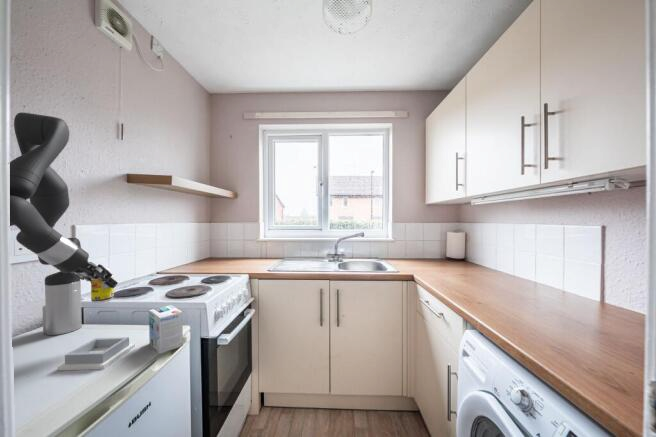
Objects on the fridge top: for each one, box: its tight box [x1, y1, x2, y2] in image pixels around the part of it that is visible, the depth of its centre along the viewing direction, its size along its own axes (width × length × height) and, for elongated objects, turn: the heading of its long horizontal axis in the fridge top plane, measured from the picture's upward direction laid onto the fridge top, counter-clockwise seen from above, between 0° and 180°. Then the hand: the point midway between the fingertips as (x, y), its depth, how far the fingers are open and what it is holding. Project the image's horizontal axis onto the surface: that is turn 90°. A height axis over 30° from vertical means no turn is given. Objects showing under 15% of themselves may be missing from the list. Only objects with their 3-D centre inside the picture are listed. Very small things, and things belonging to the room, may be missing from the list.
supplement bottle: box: [90, 267, 115, 304], centre depth 88 cm, size 6×6×10 cm
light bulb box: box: [148, 304, 184, 354], centre depth 85 cm, size 11×7×11 cm, turn 48°
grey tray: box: [57, 336, 136, 371], centre depth 78 cm, size 12×12×4 cm
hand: (108, 284), depth 89 cm, fingers closed on supplement bottle, 5 cm apart
